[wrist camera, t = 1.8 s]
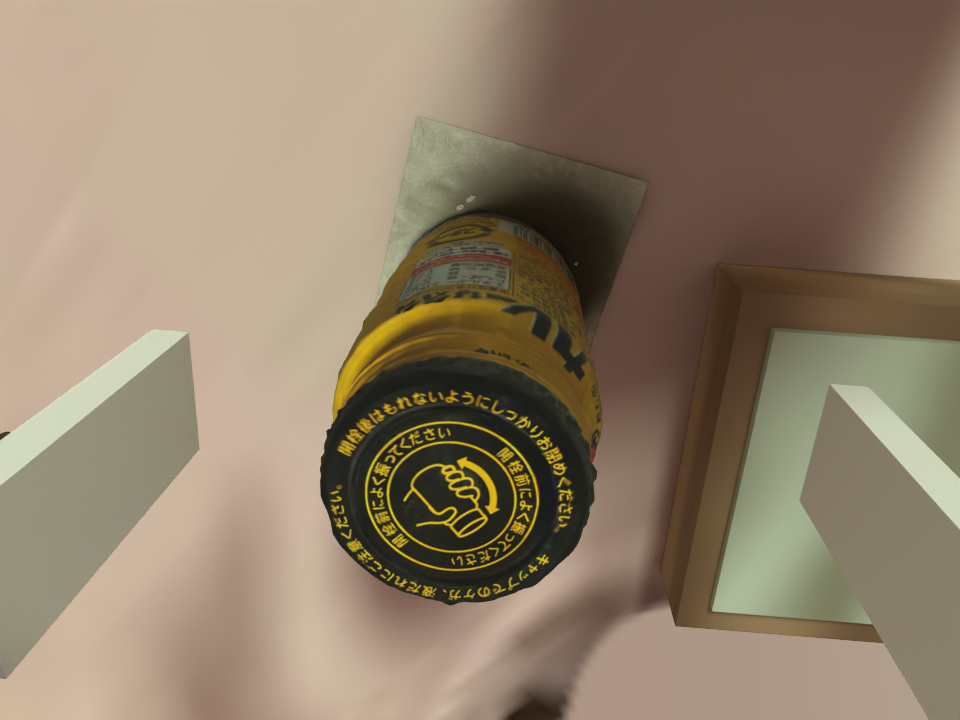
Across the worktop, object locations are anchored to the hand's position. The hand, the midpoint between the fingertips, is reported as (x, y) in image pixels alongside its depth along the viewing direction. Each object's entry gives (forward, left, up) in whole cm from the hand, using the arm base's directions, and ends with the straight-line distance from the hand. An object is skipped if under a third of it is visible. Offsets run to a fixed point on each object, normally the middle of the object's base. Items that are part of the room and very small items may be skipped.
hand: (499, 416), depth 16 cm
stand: (+13, -5, -10) cm, 17 cm away
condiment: (0, 0, -10) cm, 10 cm away
